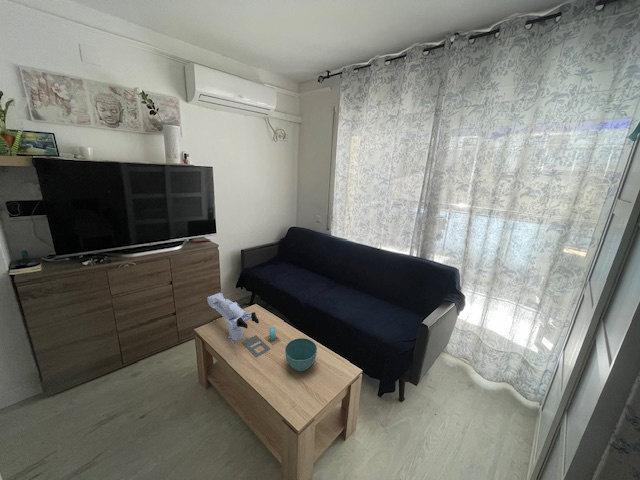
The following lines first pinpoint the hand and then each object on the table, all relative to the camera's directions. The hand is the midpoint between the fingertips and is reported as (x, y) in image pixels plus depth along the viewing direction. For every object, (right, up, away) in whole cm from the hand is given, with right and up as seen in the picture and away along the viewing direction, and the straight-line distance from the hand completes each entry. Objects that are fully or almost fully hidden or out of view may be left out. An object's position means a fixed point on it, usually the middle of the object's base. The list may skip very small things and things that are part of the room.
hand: (252, 324), depth 146 cm
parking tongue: (+9, -17, +17) cm, 26 cm away
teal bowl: (+29, -24, -3) cm, 38 cm away
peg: (+9, -16, +17) cm, 25 cm away
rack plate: (-1, -19, +10) cm, 22 cm away
